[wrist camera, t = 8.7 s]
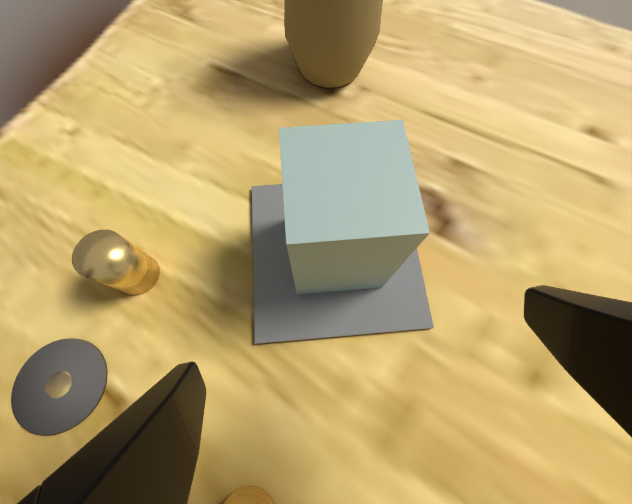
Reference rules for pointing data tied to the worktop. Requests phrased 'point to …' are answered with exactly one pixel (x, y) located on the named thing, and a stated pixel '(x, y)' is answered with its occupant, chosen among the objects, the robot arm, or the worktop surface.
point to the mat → (323, 308)
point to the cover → (349, 204)
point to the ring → (59, 386)
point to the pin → (115, 262)
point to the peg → (249, 496)
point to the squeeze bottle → (331, 37)
